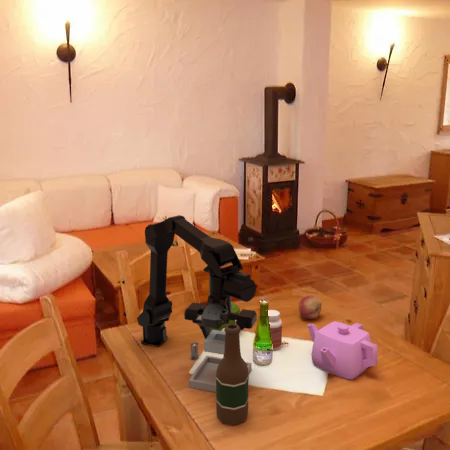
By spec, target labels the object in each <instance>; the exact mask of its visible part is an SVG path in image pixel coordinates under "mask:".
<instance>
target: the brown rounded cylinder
mask: <svg viewBox="0 0 450 450" xmlns="http://www.w3.org/2000/svg"><path fill="white" fill-rule="evenodd" d="M190 359H191V360H193V361H195V360H198V359H199V343H198V342H195V341H193V342H191V343H190Z"/></svg>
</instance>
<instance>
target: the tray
mask: <svg viewBox="0 0 450 450" xmlns="http://www.w3.org/2000/svg"><path fill="white" fill-rule="evenodd" d="M222 358H223V357H217V356H211V355H206V356H205V357H204V358H203V359H202V361H201V362H200V364H199V366H197V368H196V369H195V371H194V372H193V373H192V375H191V377H190V378H189V379H188V388H189V389H196V390H201V391H207V392H211V393H216V371H217V368H218V365H219V363H220V362H221V360H222ZM245 363H246V365H247V367H248V375H249V376H250V374H251V372H252V370H253V369H252V362H247V361H245Z"/></svg>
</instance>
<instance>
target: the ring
mask: <svg viewBox="0 0 450 450" xmlns="http://www.w3.org/2000/svg"><path fill="white" fill-rule="evenodd" d="M224 329H225V328H223V329H222V331H218V330H212V331H211V332H210V334H209V335H208V337H207V338H206V339H205V338H204V340H203V352H204V353H211V354H217V355H223V356H224V348H225V331H224Z"/></svg>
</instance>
